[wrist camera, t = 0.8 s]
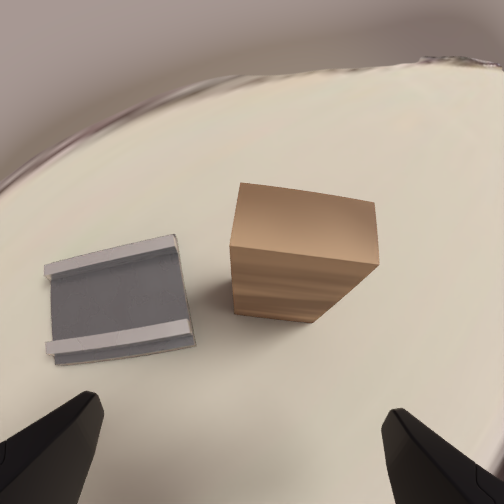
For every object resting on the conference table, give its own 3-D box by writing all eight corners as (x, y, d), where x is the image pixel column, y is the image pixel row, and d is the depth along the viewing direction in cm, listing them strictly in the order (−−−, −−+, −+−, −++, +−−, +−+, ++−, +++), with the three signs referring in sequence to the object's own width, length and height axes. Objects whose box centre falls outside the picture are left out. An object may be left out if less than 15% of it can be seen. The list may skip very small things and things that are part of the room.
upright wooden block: (312, 322, 22) (379, 264, 11) (234, 314, 22) (229, 245, 11) (315, 279, 24) (372, 192, 13) (240, 269, 24) (242, 171, 13)
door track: (177, 239, 25) (172, 226, 23) (196, 346, 21) (191, 342, 19) (56, 267, 23) (44, 257, 21) (61, 365, 19) (47, 363, 17)
